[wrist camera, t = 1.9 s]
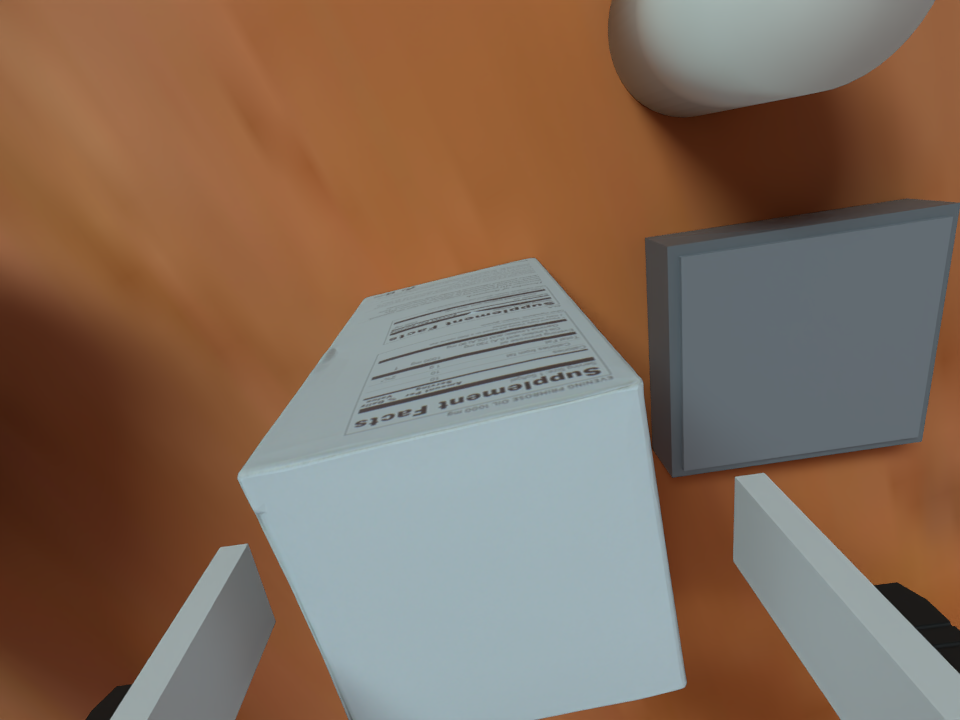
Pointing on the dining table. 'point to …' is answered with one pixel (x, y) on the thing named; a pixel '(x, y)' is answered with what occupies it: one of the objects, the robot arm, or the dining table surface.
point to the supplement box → (473, 507)
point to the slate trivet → (795, 334)
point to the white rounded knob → (750, 48)
